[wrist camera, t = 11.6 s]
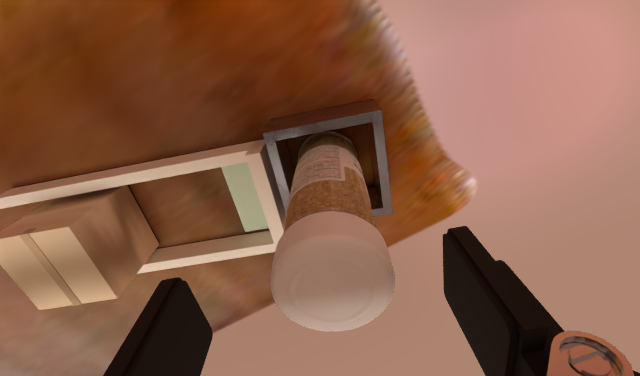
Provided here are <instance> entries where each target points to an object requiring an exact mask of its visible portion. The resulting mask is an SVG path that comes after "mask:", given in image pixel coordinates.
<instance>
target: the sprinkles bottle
mask: <svg viewBox="0 0 640 376" xmlns="http://www.w3.org/2000/svg"><path fill="white" fill-rule="evenodd" d="M394 287H395V275H394V270H393V266H392V263H391V259H390V256H389V252H388V249H387V246H386V243H385V241H384V239H383V237H382V236H381V234H380V233H379V231H378V230H377V228H376V224H375V221H374V217H373V213H372V209H371V204H370V199H369V195H368V191H367V187H366V184H365V180H364V177H363V173H362V170H361V166H360V164H359V162H358V154H357V150H356V148H355V146H354V144H353V143H352V141H351V140H350V139H349V138H347V137H346V136H345V135H343V134H341V133H338V132H335V131H324V132H319V133H315V134H313V135H311V136H309V137H308V138H307V139H306V140H305V141H304V142H303V144H302V145H301V147H300V149H299V152H298V164H297V166H296V170H295V174H294V178H293V183H292V188H291V192H290V197H289V202H288V207H287V217H286V224H285V228H284V233H283V235H282V236H281V238H280V240H279V241H278V244H277V247H276V251H275V255H274V259H273V264H272V270H271V276H270V288H271V293H272V296H273V299H274V301H275V303H276V304H277V306H278V307H279V309H280V310H281V311H282V312H283V313H284V314H285V315H286V316H287V317H288V318H290V319H291V320H293V321H294V322H296V323H298V324H300V325H302V326H304V327H307V328H310V329H314V330H319V331H330V332H334V331H345V330H350V329H354V328H357V327H360V326H362V325H365V324H366V323H369V322H370V321H372V320H373V319H375V318H376V317H377V316H378V315H380V314H381V313H382V312H383V310H384V309H385V308H386V307H387V305H388V304H389V302H390V300H391V298H392V296H393V293H394Z"/></svg>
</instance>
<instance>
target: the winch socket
mask: <svg viewBox="0 0 640 376" xmlns="http://www.w3.org/2000/svg"><path fill="white" fill-rule="evenodd" d="M365 123H367V127H368V135H369V142H370V150H371V158H372V165H373V173H374V180H375V185H374V186H368V187H367V191H368V195H369V199H370V204H371V209H372V213H373V217H377V216H383V215H389V214H393V210H392V201H391V191H390V182H389V173H388V164H387V155H386V145H385V136H384V127H383V118H382V110H381V109H380V107H379V106H378V105H377V104H376V102H375V101H374V100H373V99H370V100H365V101H360V102H355V103H350V104H345V105H340V106H335V107H330V108H325V109H320V110H315V111H310V112H305V113H300V114H295V115H290V116H286V117H281V118H276V119H271V121H270V122H269V124H268V125H267V127H266V129H265V130H264V132H263V137H264V140H265V144H266V147H267V150H268V154H269V157H270V161H271V164H272V168H273V171H274V174H275V178H276V181H277V185H278V188H279V191H280V195H281V198H282V202H283V205H284V208H285V212H286V215H287V207H288V202H289V197H290V192H291V188H292V183H293V178H294V171H293V168H292V164H291V160H290V156H289V152H288V149H287V145H286V141H285V139H288V138H293V137H298V136H303V135H308V134H314V133H319V132H324V131H329V130H334V129H339V128H344V127H350V126H355V125H360V124H365Z"/></svg>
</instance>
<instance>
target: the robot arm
mask: <svg viewBox="0 0 640 376" xmlns="http://www.w3.org/2000/svg"><path fill="white" fill-rule="evenodd" d="M443 267H444V268H443V272H444V294H445V297H446V300H447V302H448V304H449V306H450V307H451V309H452V311H453V313H454V315H455V317H456V319H457V321H458V323H459V325H460V327H461V329H462V331H463V333H464V335H465V337H466V339H467V341H468V342H469V344H470V346H471V348H472V350H473V352H474V354H475V356H476V358H477V360H478V362H479V364H480V366H481V368H482V369H483V372H484V373H485V375H486V376H640V373H638V372H635V371H633V370H632V366H631V364H630V363H629V361H628V360H627V358H626V357H625V356H624V355H623V354H622V353H621V352H620V351H619V350H618V349H617V348H616V347H615V346H613V345H612V344H610V343H608V342H607V341H605V340H604V339H602V338H599V337H597V336H595V335H592V334H589V333H585V332H581V331H566V332H565V331H564V330H563V329H562V328H561V327H560V326H559V325H558V323H557V322H556V321H555V320H554V319H553V317H552V316H551V315H550V314H549V313H548V312H547V311H546V309H545V308H544V307H543V306H542V305H541V303H540V302H539V301H538V300H537V299H536V298H535V297H534V295H533V294H532V293H531V292H530V291H529V290H528V288H527V287H526V286H525V285H524V284H523V283H522V281H521V280H520V279H519V278H518V277H517V276H516V275H515V274H514V272H513V271H512V270H511V269H510V268H509V266H508V265H507V264H506V263H505V262H503V261H501V260H498V261H495V260H494V259H493V258H492V257H491V255H490V254H489V253H488V252H487V250H486V249H485V248H484V247H483V245H482V244H481V243H480V242H479V241H478V239H477V238H476V237H475V236H474V235H473V233H472V232H471V231H470V230H469V228H468V227H467V226H462V227H456V228H451V229H448V232H447V234H444V235H443ZM211 340H212V329H211V327H210V325H209V323H208V321H207V319H206V317H205V315H204V314H203V312H202V310H201V308H200V306H199V304H198V302H197V301H196V299H195V297H194V295H193V293H192V291H191V289H190V288H189V286H188V284H187V282H186V281H182V279H181V278H172V279H166V280H162V281H161V282H160V283H159V285H158V286H157V288H156V290H155V291H154V293H153V295H152V296H151V298H150V300H149V301H148V303H147V305H146V306H145V308H144V309H143V311H142V313H141V314H140V316H139V318H138V319H137V321H136V323H135V324H134V326H133V328H132V329H131V331H130V332H129V334H128V336H127V337H126V339H125V341H124V342H123V344H122V346H121V347H120V349H119V351H118V352H117V354H116V356H115V357H114V359H113V360H112V362H111V364H110V365H109V367H108V369H107V370H106V372H105V374H104V375H103V376H200V375H201V371H202V368H203V365H204V362H205V359H206V356H207V353H208V350H209V347H210V344H211Z"/></svg>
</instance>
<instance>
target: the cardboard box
mask: <svg viewBox="0 0 640 376" xmlns="http://www.w3.org/2000/svg"><path fill="white" fill-rule="evenodd" d="M158 246H159V243H158V241H157V239H156V237H155V236H154V234H153V232H152V230H151V228H150V226H149V224H148V223H147V221H146V219H145V217H144V215H143V213H142V212H141V210H140V208H139V206H138V204H137V202H136V200H135V199H134V197H133V195H132V193H131V191H130V189H129V187H128V186H127V185H124V186H118V187H113V188H108V189H102V190H97V191H92V192H87V193H81V194H76V195H71V196H65V197H60V198H55V199H52V200H51V201H49V202H47V203H46V204H44V205H42V206H41V207H39V208H37V209H36V210H34V211H32V212H31V213H29V214H27V215H26V216H24V217H22V218H21V219H19V220H17V221H16V222H14V223H12V224H11V225H9V226H7V227H6V228H4V229H2V230H1V231H0V265H1V266H2V267H3V268H4V269H5V270H6V272H7V273H8V274H9V275H10V276H11V277H12V279H13V280H14V281H15V282H16V283H17V284H18V286H19V287H20V288H21V289H22V290H23V291H24V293H25V294H26V295H27V296H28V297H29V298H30V299H31V301H32V302H33V303H34V304H35V305H36V306H37V308H38V309H39V310H43V309H50V308H56V307H63V306H69V305H74V306H76V305H82V304H83V303H89V302H96V301H102V300H109V299H116V298H118V297H119V296H120V294H121V293H122V292H123V290H124V289H125V288H126V287H127V285H128V284H129V283H130V282H131V280H132V279H133V278H134V276H135V275H136V274H137V273H138V271H139V270H140V269H141V267H142V266H143V265H144V264H145V262H146V261H147V260H148V259H149V257H150V256H151V255H152V253H153V252H154V251H155V250H156V248H157V247H158Z"/></svg>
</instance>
